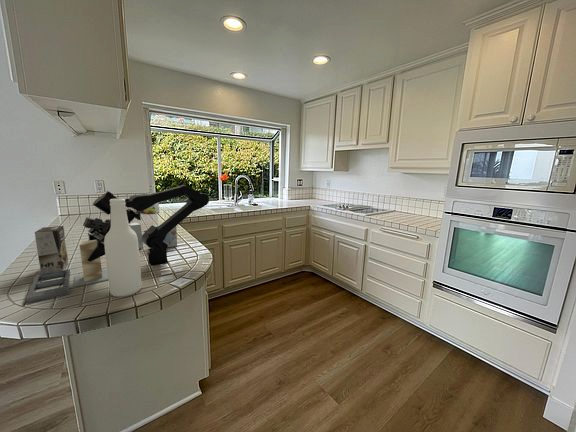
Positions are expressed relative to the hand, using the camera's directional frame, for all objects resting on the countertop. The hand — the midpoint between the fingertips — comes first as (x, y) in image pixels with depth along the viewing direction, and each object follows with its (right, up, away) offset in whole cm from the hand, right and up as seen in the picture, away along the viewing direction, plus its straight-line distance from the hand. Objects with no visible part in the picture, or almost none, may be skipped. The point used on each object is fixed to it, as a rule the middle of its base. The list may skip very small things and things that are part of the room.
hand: (85, 257), depth 87 cm
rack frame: (-7, -9, -5) cm, 13 cm away
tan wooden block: (+1, -7, +2) cm, 8 cm away
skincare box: (-5, -1, +37) cm, 38 cm away
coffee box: (-19, -6, +9) cm, 22 cm away
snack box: (-53, +18, +134) cm, 145 cm away
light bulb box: (+8, -1, +41) cm, 42 cm away
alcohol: (+18, -10, -6) cm, 22 cm away
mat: (+1, -8, +2) cm, 8 cm away
